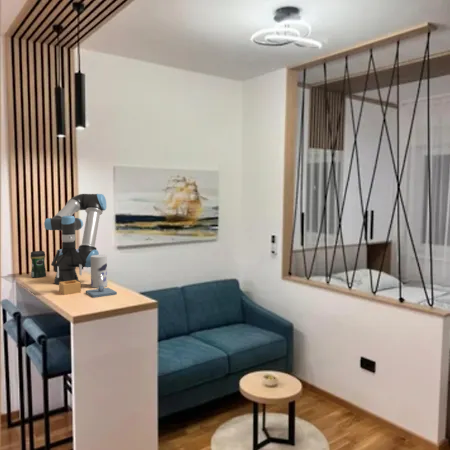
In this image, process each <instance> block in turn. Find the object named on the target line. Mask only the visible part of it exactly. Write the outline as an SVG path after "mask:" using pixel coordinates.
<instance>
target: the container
mask: <svg viewBox="0 0 450 450" xmlns="http://www.w3.org/2000/svg"><path fill="white" fill-rule="evenodd" d="M99 274H102V275H103V281H104V288H107V286H108V255H106V254H99V255H93V256H91V267H90V287H91V288H94V289H98V275H99Z"/></svg>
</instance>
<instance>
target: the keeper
mask: <svg viewBox="0 0 450 450" xmlns="http://www.w3.org/2000/svg"><path fill="white" fill-rule="evenodd" d="M85 294H87V295H88V296H90V297H91V298H93V299H95V298H102V297H108V296H115V295H117V294H118V293H117V291H116V290H113V289H112V288H109V287H104V281H103V275H102V274H99V275H98V288H94V289H89V290H88V289H87V290H85Z"/></svg>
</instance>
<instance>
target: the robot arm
mask: <svg viewBox="0 0 450 450" xmlns="http://www.w3.org/2000/svg"><path fill="white" fill-rule="evenodd" d="M106 209H107V199H106V197H105V195H104V194H103V193H80V194H77V195H74V196H73V197H71V198H70V199H69V200H68V201H67V202H66V204H65V206H63V208H61V209H59V211H58V212H57V213H56V214H55V215H54V216H53V217H47V218H46V219H45V220H44V224H43V225H44V228H45V230H47V231H61V241H62V242H61V249H57V250H56V254H55V255H54V257H53V259H52V261H51V264H50V265H51V266H52V267H54V272H55V273H56V274H55V276H54V284H55V285H59V282H63V281H71V280H77V281H78V282H79V277H78V274H79V276H82V275H83V270H84V268H91V256H93V255H100V254H99V251H98V250H97V247H96V240H97V234H98V228H99V221H100V215H102V214H103V212H104V211H106ZM78 211H85V212H86V217H85V223H84V222H83V220H82V219H81V218H79V217H75V216H74V214H75V213H78ZM83 226H84V228H83ZM82 228H83V229H84V230H83V236H82V240H81V244H80V245H79V246H78V248H76V231H79V230H81V229H82ZM76 268H78V272H79V273H77V271H76Z"/></svg>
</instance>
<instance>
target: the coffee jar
mask: <svg viewBox="0 0 450 450" xmlns="http://www.w3.org/2000/svg"><path fill="white" fill-rule="evenodd" d="M45 252H46V251H44V250H37V251H36V250H35V251H31V252H30V259H31V272H30V273H31V274H30V275H31V278H44V277H47V272H46V271H47V270H46V264H45V259H46V253H45Z"/></svg>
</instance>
